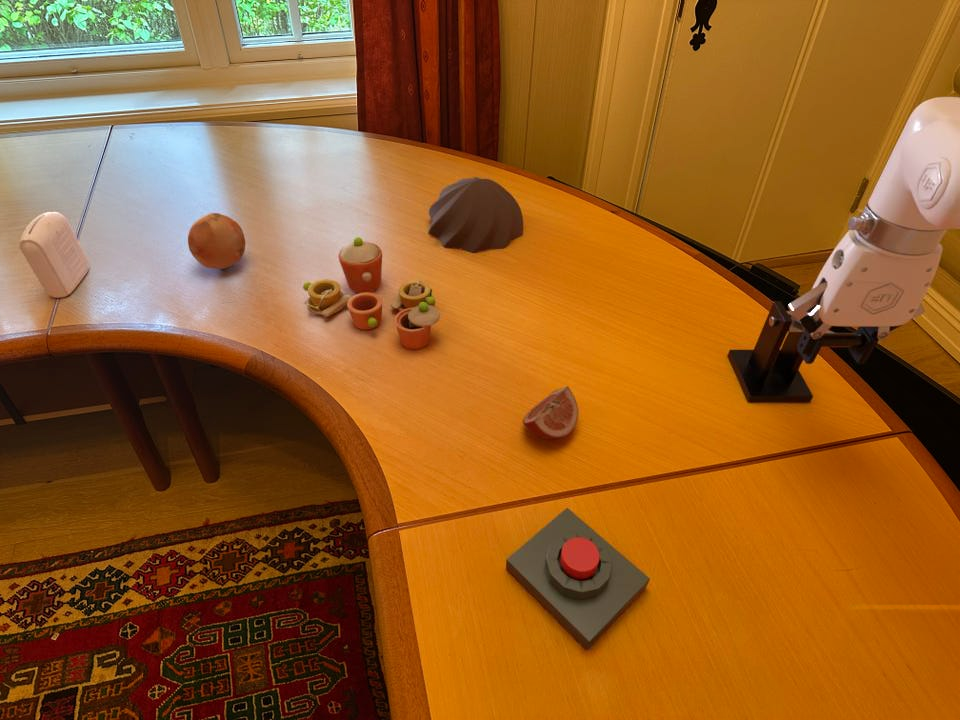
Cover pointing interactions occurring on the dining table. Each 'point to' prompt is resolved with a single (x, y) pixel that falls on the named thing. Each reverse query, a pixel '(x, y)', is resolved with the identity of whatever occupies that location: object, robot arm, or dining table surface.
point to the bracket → (772, 362)
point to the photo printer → (54, 254)
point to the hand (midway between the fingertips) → (830, 355)
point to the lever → (832, 336)
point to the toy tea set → (375, 296)
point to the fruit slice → (553, 415)
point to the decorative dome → (475, 216)
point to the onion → (216, 241)
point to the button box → (571, 600)
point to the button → (579, 558)
